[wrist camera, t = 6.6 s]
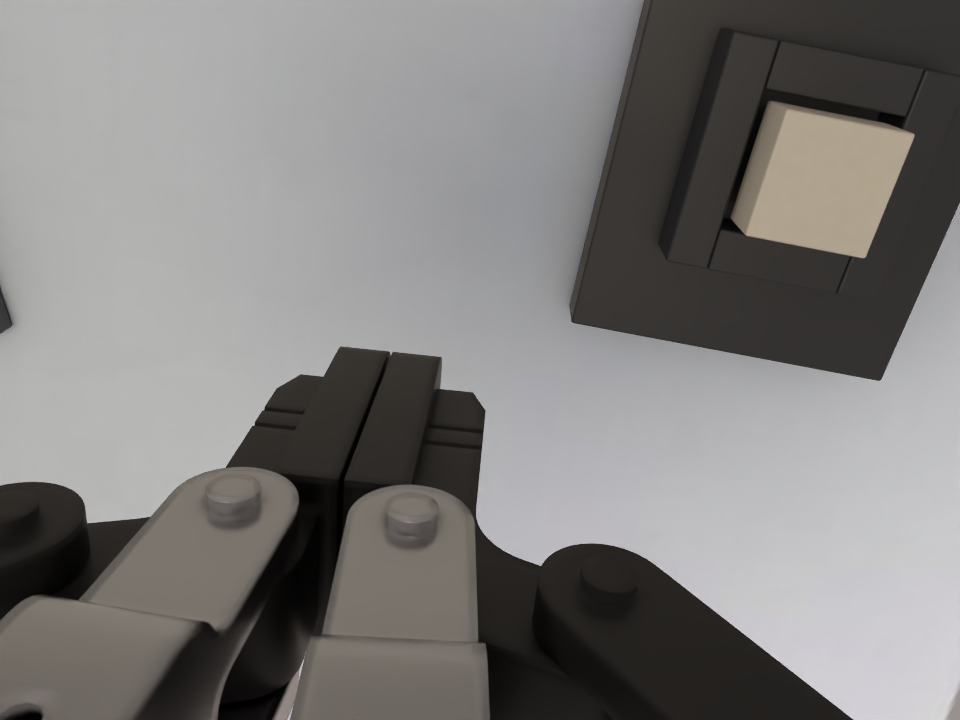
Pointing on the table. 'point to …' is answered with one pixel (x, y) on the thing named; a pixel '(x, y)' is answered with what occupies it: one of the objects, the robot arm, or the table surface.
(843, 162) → the key
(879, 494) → the table surface
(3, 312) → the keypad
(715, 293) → the dark grey button panel
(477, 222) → the table surface
